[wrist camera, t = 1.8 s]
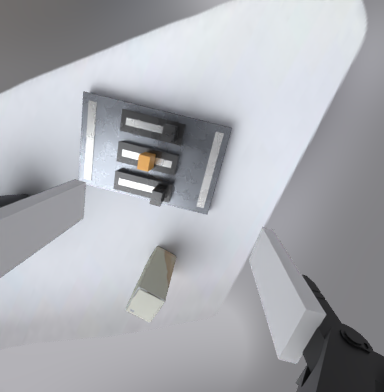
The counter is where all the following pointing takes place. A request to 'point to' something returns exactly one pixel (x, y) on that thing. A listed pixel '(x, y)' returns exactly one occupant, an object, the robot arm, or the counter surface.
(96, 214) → the counter surface
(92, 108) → the panel
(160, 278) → the box
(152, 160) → the breaker handle
